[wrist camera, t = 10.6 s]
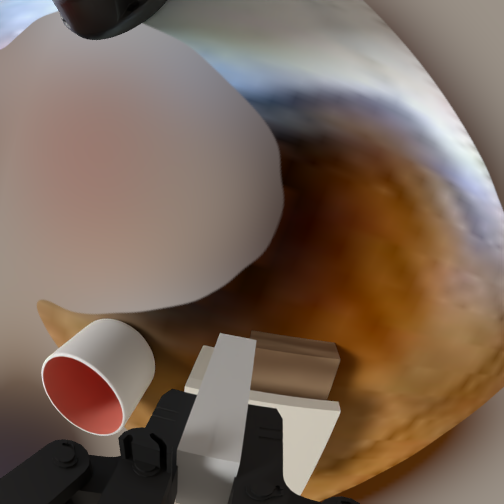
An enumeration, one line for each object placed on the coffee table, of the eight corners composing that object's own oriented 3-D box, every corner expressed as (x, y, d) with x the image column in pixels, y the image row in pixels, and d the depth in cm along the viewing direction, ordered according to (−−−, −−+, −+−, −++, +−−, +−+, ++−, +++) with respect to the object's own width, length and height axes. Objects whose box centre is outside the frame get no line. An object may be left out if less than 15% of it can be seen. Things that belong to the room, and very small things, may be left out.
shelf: (203, 345, 34) (184, 386, 26) (329, 366, 33) (340, 411, 25) (192, 437, 37) (178, 480, 29) (296, 455, 36) (298, 499, 28)
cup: (166, 335, 34) (131, 384, 24) (150, 398, 36) (121, 450, 26) (90, 301, 34) (40, 335, 24) (83, 366, 36) (42, 407, 26)
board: (251, 328, 33) (248, 346, 29) (334, 341, 33) (340, 359, 29) (233, 429, 36) (229, 450, 32) (301, 438, 36) (303, 459, 32)
